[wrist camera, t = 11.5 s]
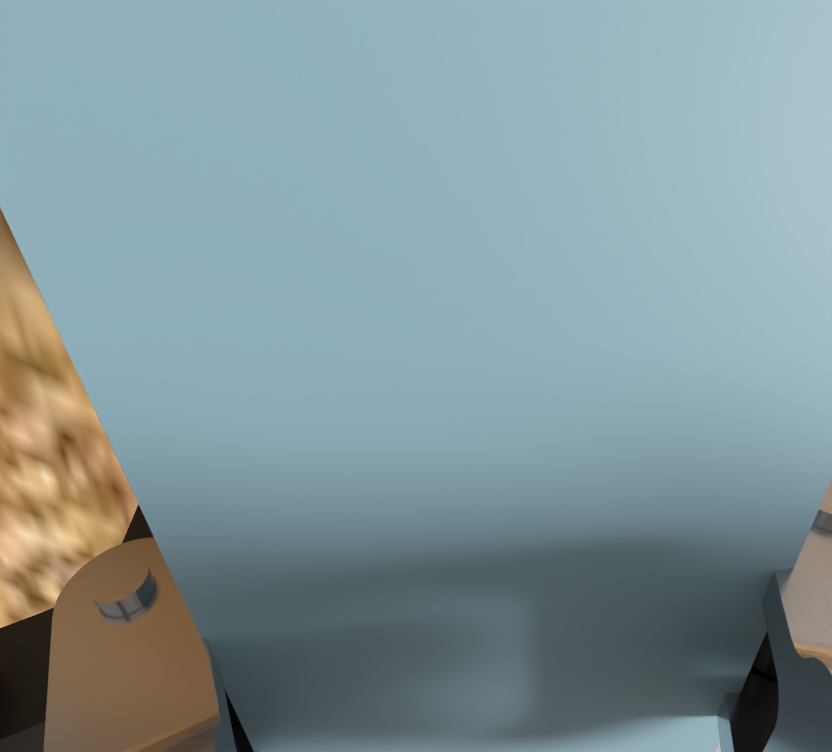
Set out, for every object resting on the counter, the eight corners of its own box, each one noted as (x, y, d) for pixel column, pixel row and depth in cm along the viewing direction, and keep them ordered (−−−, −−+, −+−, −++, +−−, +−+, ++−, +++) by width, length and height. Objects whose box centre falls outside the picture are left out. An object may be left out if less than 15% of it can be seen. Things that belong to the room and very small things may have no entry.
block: (183, -127, 7) (-300, -435, 2) (613, -163, 7) (1270, -543, 2) (336, 561, 13) (324, 903, 8) (555, 536, 14) (670, 857, 9)
